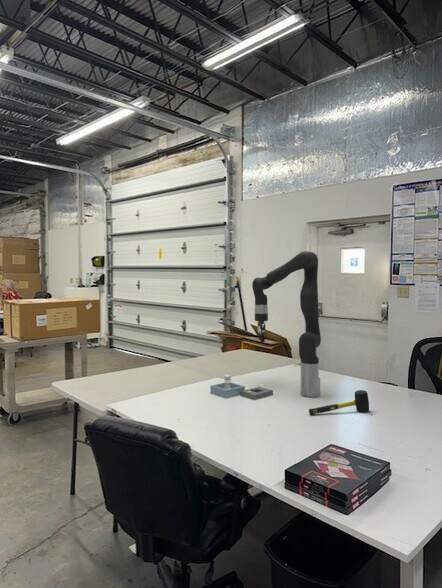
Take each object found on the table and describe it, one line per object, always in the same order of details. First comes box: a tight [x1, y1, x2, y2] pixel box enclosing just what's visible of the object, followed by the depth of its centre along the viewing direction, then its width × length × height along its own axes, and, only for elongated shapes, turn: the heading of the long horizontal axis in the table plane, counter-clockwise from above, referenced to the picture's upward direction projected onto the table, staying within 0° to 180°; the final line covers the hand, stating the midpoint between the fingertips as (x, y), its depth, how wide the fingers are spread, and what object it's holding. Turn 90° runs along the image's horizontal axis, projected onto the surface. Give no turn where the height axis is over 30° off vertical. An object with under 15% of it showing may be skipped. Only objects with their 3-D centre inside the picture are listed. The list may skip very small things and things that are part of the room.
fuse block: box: [240, 386, 274, 401], centre depth 215 cm, size 10×14×3 cm
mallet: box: [308, 389, 370, 416], centre depth 187 cm, size 29×6×10 cm, turn 102°
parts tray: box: [209, 382, 246, 399], centre depth 219 cm, size 13×13×4 cm
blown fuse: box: [223, 373, 232, 390], centre depth 219 cm, size 4×4×9 cm
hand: (261, 340), depth 234 cm, fingers open, 8 cm apart
